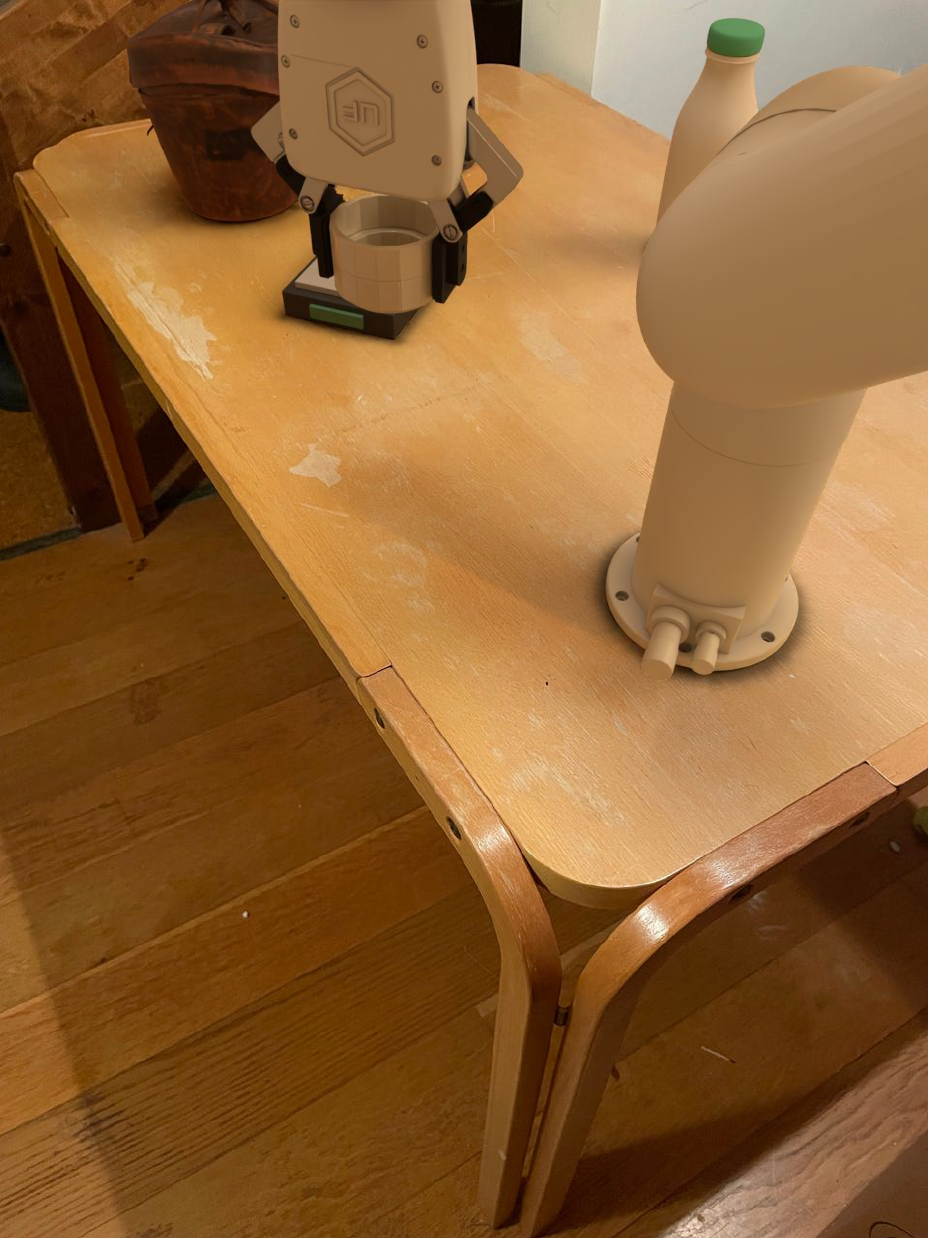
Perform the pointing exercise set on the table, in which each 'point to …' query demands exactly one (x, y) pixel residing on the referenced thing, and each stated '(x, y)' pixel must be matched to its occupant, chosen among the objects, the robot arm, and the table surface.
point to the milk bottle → (714, 104)
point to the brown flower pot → (214, 103)
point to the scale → (336, 306)
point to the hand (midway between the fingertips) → (389, 277)
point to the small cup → (383, 252)
